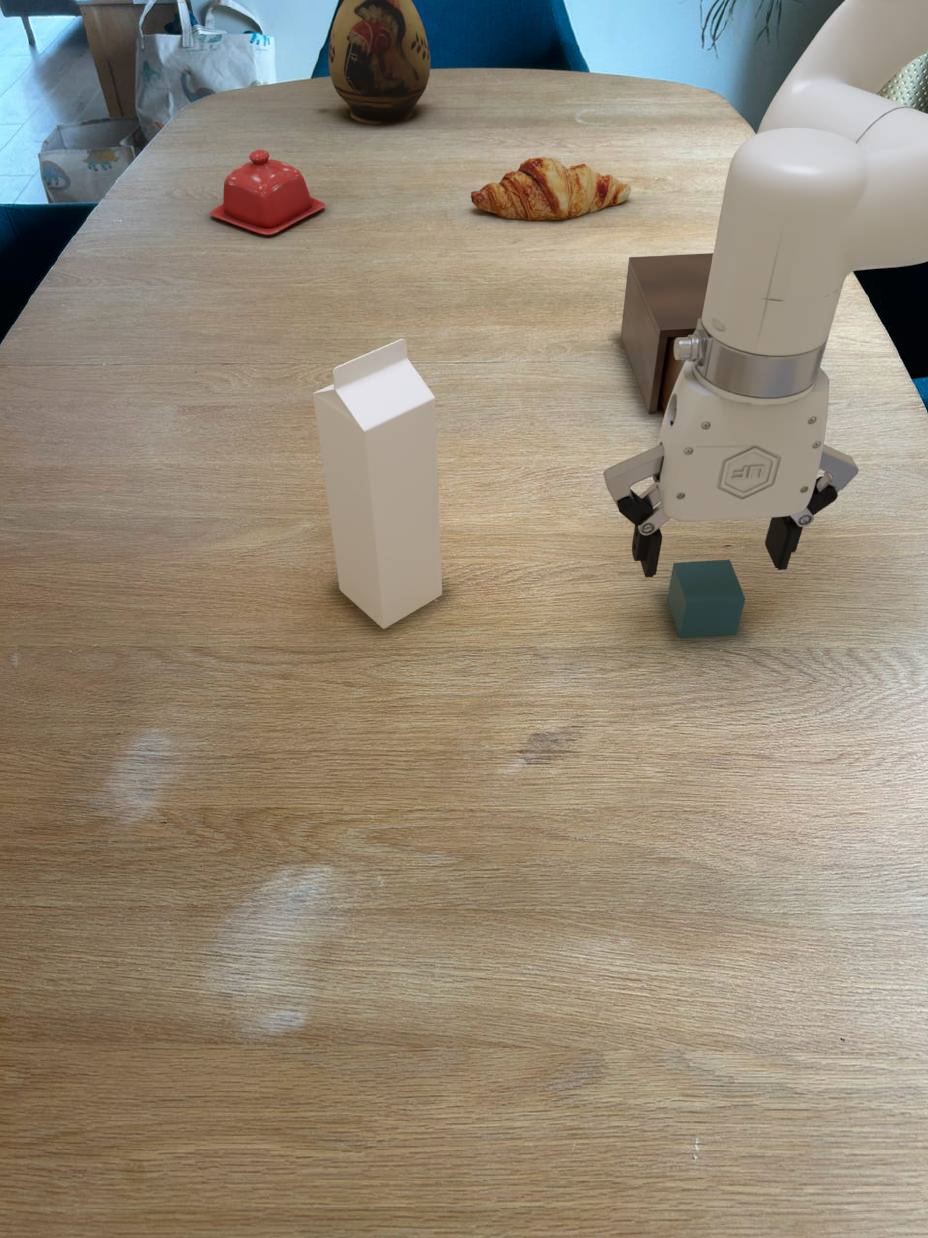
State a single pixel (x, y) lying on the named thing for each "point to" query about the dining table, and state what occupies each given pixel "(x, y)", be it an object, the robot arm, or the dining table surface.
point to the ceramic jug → (379, 59)
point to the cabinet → (660, 313)
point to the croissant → (550, 191)
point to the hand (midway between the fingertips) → (710, 561)
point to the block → (705, 598)
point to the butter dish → (265, 196)
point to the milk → (382, 482)
